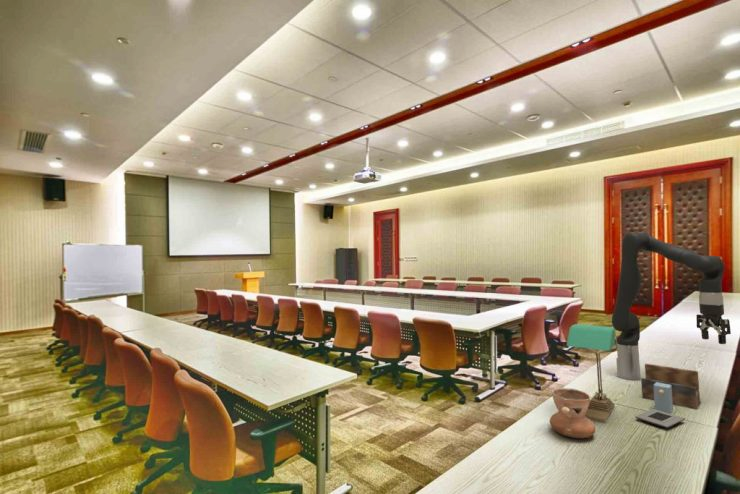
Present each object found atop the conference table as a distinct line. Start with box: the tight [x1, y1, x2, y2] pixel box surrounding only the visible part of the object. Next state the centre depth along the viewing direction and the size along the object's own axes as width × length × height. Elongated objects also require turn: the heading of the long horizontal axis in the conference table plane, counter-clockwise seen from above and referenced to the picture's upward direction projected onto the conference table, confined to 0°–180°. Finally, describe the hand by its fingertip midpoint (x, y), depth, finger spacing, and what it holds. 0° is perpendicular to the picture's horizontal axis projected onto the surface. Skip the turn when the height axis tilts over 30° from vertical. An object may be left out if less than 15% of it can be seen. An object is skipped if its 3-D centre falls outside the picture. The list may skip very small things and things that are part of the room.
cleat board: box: [640, 363, 701, 410], centre depth 157 cm, size 18×10×13 cm, turn 42°
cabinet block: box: [653, 382, 674, 414], centre depth 148 cm, size 5×6×10 cm
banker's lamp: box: [566, 323, 618, 424], centre depth 148 cm, size 16×21×35 cm
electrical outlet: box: [634, 408, 686, 429], centre depth 138 cm, size 13×10×2 cm
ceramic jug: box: [549, 387, 596, 439], centre depth 132 cm, size 18×14×14 cm
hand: (713, 341), depth 153 cm, fingers open, 8 cm apart
